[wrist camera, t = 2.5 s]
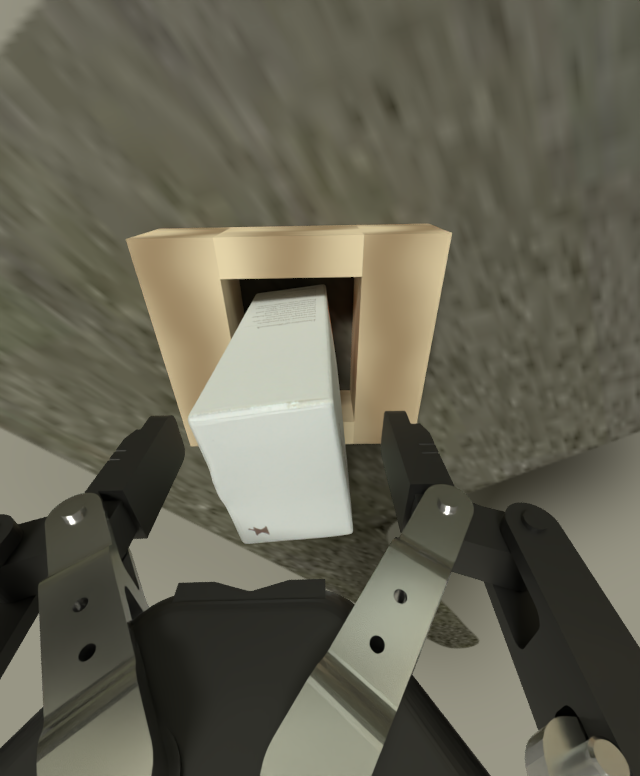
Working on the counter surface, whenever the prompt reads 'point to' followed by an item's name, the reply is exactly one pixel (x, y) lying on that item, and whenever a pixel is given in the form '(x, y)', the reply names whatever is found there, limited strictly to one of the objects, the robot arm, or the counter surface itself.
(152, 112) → the counter surface
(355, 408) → the pocket block
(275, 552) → the counter surface
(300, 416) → the skincare box
